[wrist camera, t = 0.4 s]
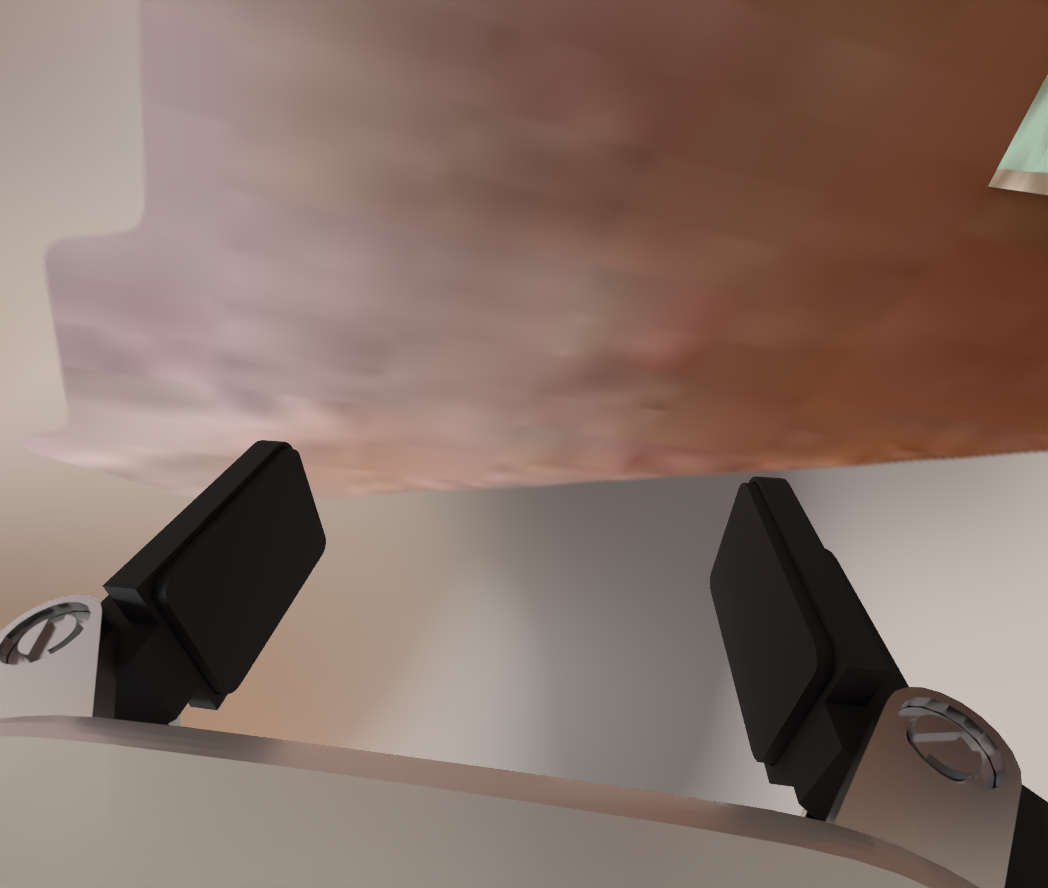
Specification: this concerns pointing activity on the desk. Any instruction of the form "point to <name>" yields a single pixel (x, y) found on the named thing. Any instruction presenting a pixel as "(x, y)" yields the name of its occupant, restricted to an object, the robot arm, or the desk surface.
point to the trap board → (1027, 151)
